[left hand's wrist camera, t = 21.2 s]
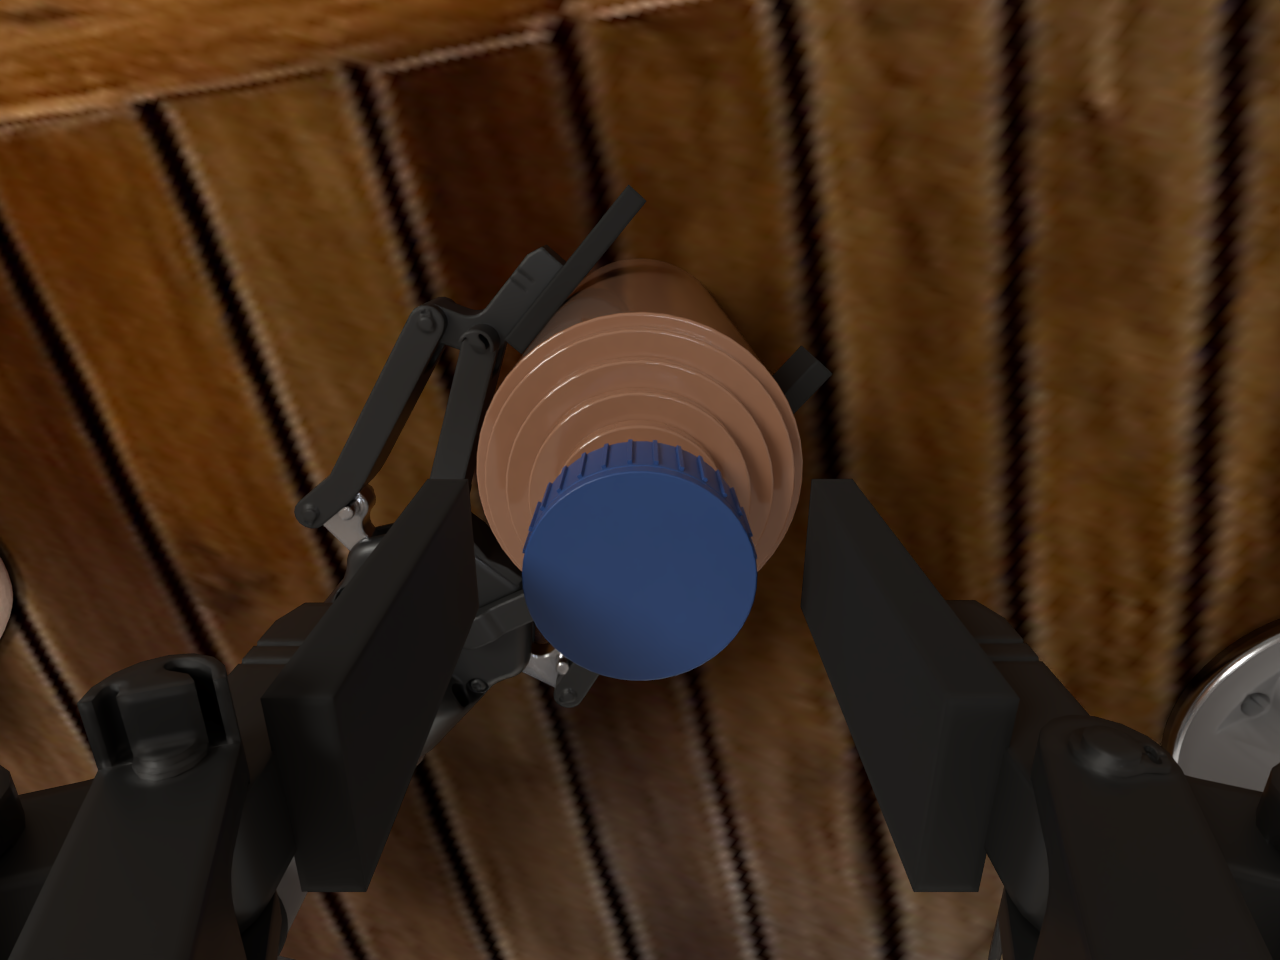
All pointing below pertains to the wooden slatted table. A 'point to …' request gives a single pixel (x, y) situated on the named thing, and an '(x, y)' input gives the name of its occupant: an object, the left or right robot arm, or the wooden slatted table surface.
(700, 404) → the bottle
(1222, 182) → the wooden slatted table surface
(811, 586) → the left robot arm
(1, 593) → the anatomical model
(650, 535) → the cap
